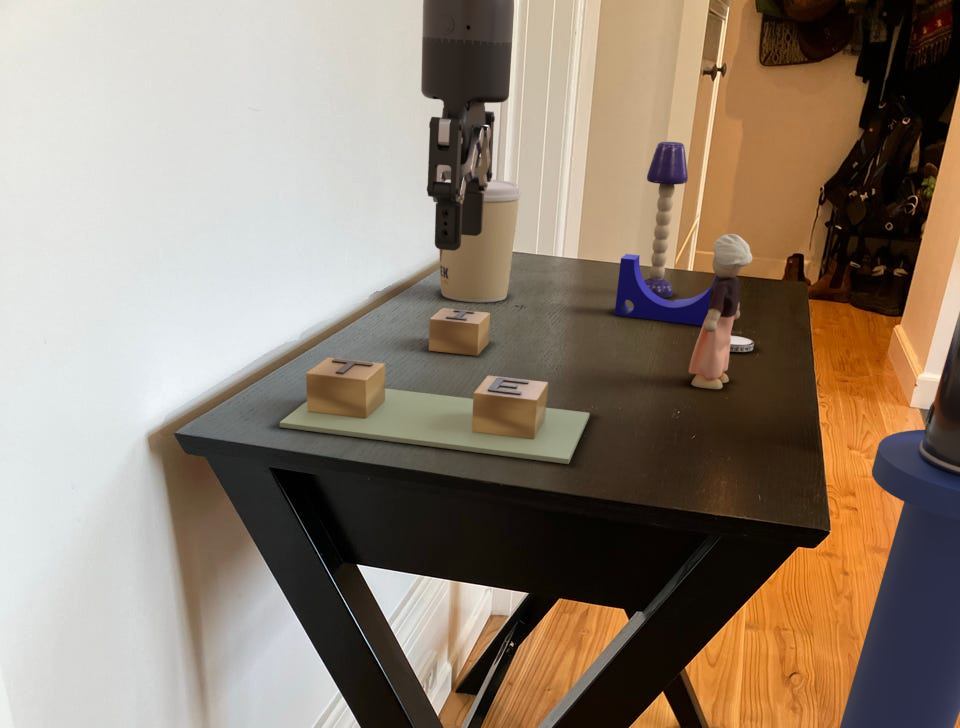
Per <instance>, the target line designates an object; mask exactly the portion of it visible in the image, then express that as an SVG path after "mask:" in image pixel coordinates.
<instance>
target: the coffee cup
mask: <svg viewBox="0 0 960 728" xmlns="http://www.w3.org/2000/svg"><path fill="white" fill-rule="evenodd" d="M445 182H449V183H451V180H446V181H445ZM482 193H484V203H483V222H482V232H481V233H480V234H479V235H477V236H471V235H462V234H461V246H460V248H458V249H457V250H455V251H452V250H442V249H438V250H439V273H440V276H439V277H440V290H441V291H440V292H441V295H442V296H443V297H444V298H446V299H450V300H454V301H458V302H466V303H467V302H468V303H479V304H480V303H481V304H482V303H496V302H499V301H500V302H501V301H503V300H505V299H506V298H507V296H508V290H509V283H510V275H511V268H512V262H513V261H512V260H513V253H514V251H513V250H514V242H515V236H516V228H517V221H518V220H517V219H518V212H519V211H518V210H519V200H520V199H521V195H522V194H521V191H520V190H519V185H518V184H517V183H514V182H511V181H508V180H507V181H506V180H500V179H491V181H490V182H488V187H487V189H486V191H482Z"/></svg>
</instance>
